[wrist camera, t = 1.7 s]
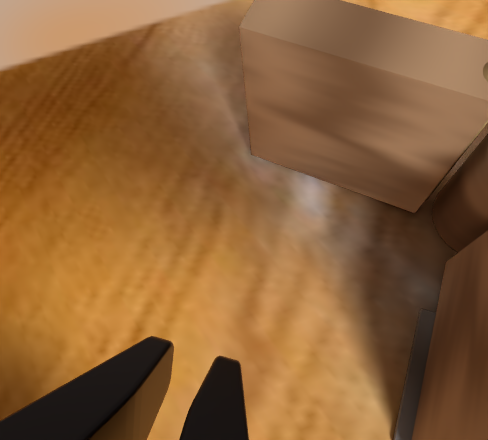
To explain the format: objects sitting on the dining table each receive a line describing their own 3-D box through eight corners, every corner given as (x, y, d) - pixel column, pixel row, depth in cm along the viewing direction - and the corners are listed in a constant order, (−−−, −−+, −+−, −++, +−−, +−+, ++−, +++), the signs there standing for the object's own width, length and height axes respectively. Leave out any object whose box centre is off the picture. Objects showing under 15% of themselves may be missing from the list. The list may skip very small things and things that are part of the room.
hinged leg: (435, 176, 23) (529, 51, 14) (422, 216, 22) (513, 108, 14) (268, 119, 25) (265, -20, 16) (251, 154, 24) (238, 26, 16)
